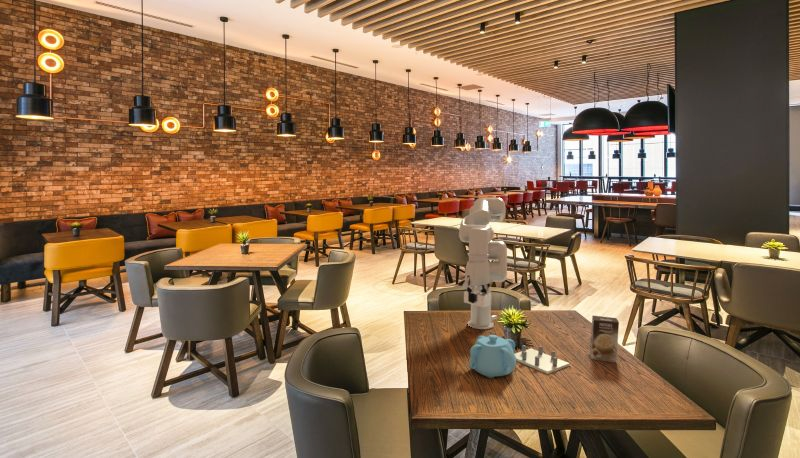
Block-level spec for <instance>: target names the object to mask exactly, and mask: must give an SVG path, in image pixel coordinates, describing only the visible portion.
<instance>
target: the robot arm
mask: <svg viewBox="0 0 800 458" xmlns="http://www.w3.org/2000/svg"><path fill="white" fill-rule="evenodd" d="M505 219H506V203H505V200H504V199H503V198H501V197H479V198H477V199H476V200H475V201H474V203H473V205H472V206H471V207H470V208H469V214H468V215H466V216H464V217H463V218H462V219H461V222H460V225H459V229H458V238H459V240H460V241H461V242H463V243H468V261H467V263H466V266H465V272H464V281H463V283H462V288H463V289H465V291H467V292H468V301H469V302H471V303H475V294H474V290H476V291H480V292H485V293H489V294H491V295H492V290H491V288H490V287H491V284H492V283H494V282H495V283H503V282H505V281H506V279H507V276H508V275H507V274H508V248H507V244H506V243H505V242H504V241H501V240H493V239H494V236H495V235H494V229H493V227H491V226H490V225H489V223H501V222H503V221H504V220H505ZM491 306H492V304H491V305H489V306H487V307H481V306H477V305H473V304H470V320H468V321H467V324H468V325H467V326H468V327H469V326H470V328H471V327H472V328H471V329H476V330H489V329H492V328H494V326H495V325H494V322H493V321H494V320H496V319H498V316H497V315H495V314H494V315H491V314H492V313H491V311H492V307H491Z"/></svg>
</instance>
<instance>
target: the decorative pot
mask: <svg viewBox="0 0 800 458" xmlns="http://www.w3.org/2000/svg"><path fill="white" fill-rule="evenodd" d="M475 341H476V342H474V343H475V344H474V345H472V346H471V348H470V349H469V354H470V357H469V363H468V366H469V369H472V370H475V372H477V373H479V374H480V375H483V376H485V377H487V378H488V379H493V378H495V377H503V376H508V375H509V374H511V373H512V372H513V371H514V370H515V368H516V366H517V361H516V357H515V355H514V354H515V348H516V343H515V341H514V340H512V339H510V338H506V339H505V338H503V337H501V336H498V335H495V334H490V335H488V336H485V335H479V336H478V337H477V338H476V340H475Z"/></svg>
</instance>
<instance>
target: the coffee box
mask: <svg viewBox="0 0 800 458" xmlns="http://www.w3.org/2000/svg"><path fill="white" fill-rule="evenodd" d="M619 324H620V323H619V320H618V319H617V318H616V317H608V316H600V315H599V316H598V315H592V316H591V331H590V348H589V349H590V350H589V356H590V358H591V359H590V360H595V361H604V362H610V363H612V362H613V363H617V360H618V359H617V355H618V344H619V343H618V341H619V340H618V339H619V329H620V328H619V327H620V325H619Z"/></svg>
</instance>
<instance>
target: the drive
mask: <svg viewBox="0 0 800 458" xmlns="http://www.w3.org/2000/svg"><path fill="white" fill-rule="evenodd" d="M474 294H475V303H471V302H469V301H468V292H467V291H466V290H465V291H463V303H465V304H469V305H471V304H473V305H477V306H481V307H487V306H489V305H491V306H492V293H491V294H489V293H485V292H480V291H476V290H474Z"/></svg>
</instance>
